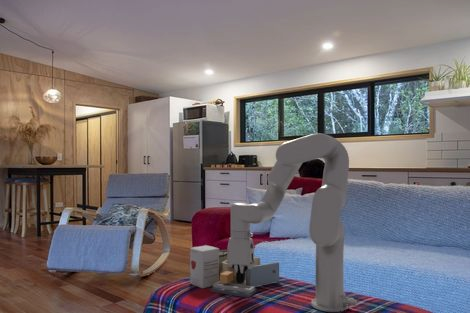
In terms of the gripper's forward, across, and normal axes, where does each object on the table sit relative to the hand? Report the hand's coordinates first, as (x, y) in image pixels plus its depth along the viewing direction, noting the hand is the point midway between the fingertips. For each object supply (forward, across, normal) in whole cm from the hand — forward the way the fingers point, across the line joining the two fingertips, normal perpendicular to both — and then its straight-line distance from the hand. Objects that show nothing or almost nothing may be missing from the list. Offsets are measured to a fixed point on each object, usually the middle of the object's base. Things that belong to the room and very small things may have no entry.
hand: (240, 282), depth 151 cm
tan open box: (+4, +6, -14) cm, 15 cm away
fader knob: (+2, +6, 0) cm, 7 cm away
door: (+4, -4, -12) cm, 14 cm away
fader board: (+4, +3, 0) cm, 5 cm away
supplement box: (+4, +18, -3) cm, 19 cm away
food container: (+4, +19, -22) cm, 29 cm away
